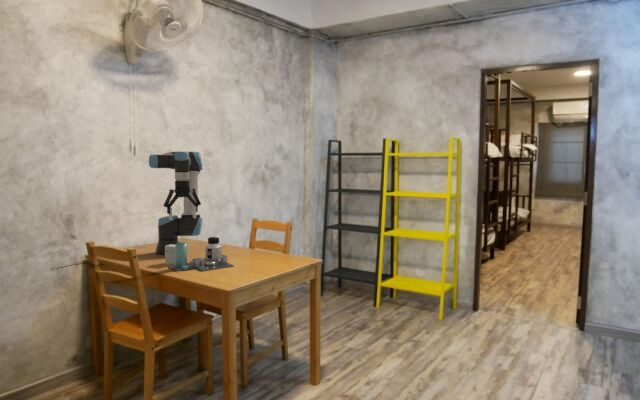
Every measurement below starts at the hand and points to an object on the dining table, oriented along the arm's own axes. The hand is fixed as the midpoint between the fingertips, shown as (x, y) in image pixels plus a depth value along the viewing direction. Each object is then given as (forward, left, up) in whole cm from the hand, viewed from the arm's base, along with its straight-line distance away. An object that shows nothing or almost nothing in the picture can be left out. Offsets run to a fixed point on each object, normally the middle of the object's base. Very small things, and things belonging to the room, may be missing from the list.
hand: (182, 218), depth 248 cm
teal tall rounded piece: (0, -1, -27) cm, 27 cm away
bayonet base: (+4, +14, -27) cm, 31 cm away
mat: (0, -1, -27) cm, 27 cm away
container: (-11, +24, -27) cm, 38 cm away
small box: (-13, 0, -27) cm, 30 cm away
